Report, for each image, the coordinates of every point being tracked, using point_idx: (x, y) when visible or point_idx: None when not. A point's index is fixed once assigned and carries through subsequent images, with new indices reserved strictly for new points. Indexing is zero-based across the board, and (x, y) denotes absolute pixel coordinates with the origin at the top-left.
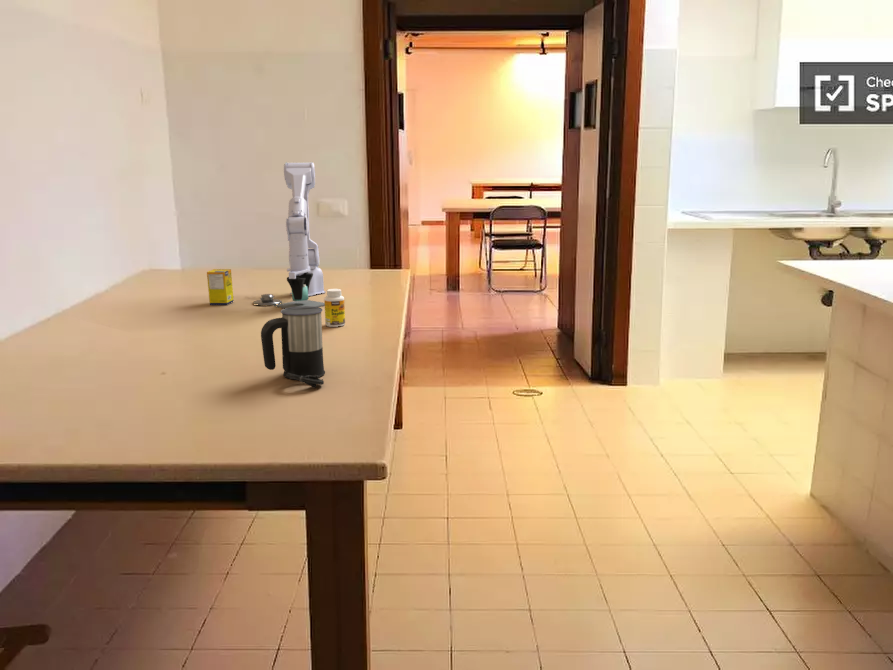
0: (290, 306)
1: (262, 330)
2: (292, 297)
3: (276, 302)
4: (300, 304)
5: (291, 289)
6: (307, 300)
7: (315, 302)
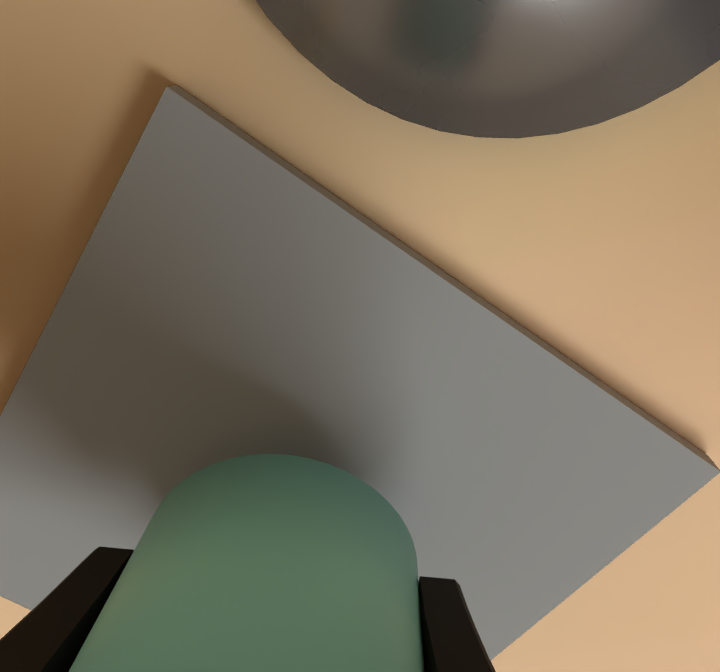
0: (104, 409)
1: None
2: (188, 503)
3: (421, 53)
4: None
5: (153, 633)
6: (598, 539)
7: None
